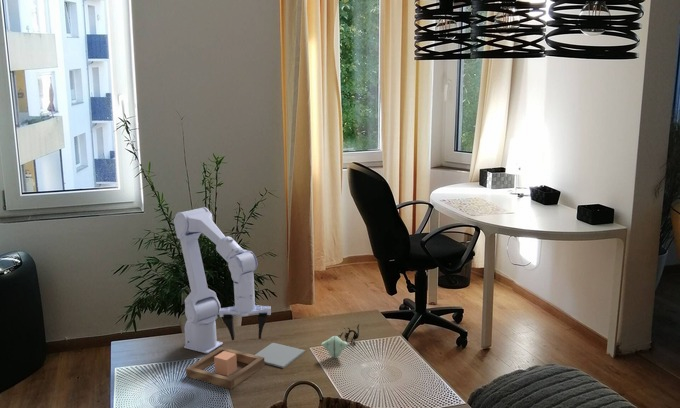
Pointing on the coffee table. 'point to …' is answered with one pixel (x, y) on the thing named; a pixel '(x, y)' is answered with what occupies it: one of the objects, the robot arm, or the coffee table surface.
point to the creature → (349, 333)
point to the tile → (279, 354)
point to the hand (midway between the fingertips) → (246, 338)
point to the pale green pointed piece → (334, 346)
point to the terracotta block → (225, 363)
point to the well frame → (228, 382)
